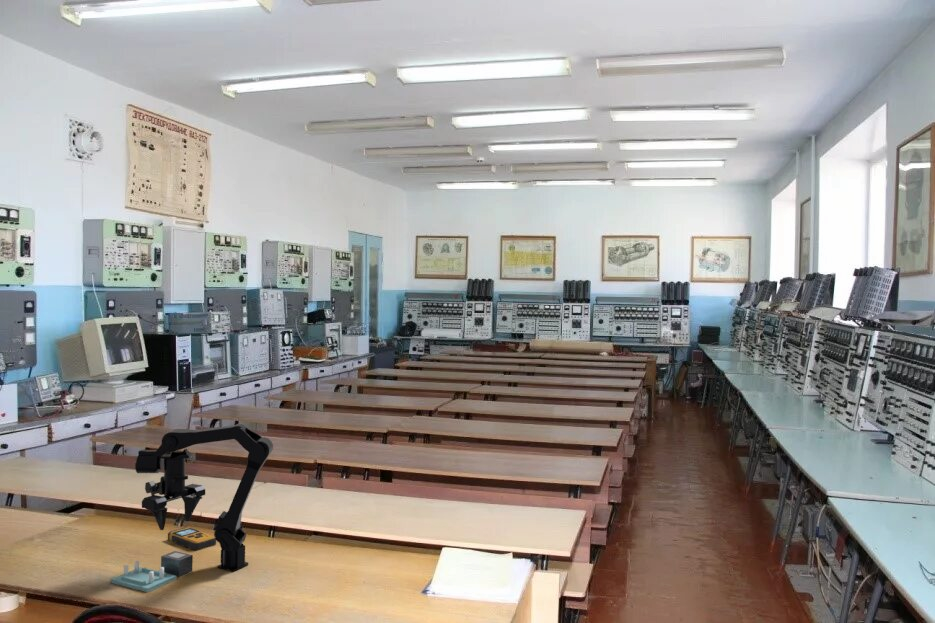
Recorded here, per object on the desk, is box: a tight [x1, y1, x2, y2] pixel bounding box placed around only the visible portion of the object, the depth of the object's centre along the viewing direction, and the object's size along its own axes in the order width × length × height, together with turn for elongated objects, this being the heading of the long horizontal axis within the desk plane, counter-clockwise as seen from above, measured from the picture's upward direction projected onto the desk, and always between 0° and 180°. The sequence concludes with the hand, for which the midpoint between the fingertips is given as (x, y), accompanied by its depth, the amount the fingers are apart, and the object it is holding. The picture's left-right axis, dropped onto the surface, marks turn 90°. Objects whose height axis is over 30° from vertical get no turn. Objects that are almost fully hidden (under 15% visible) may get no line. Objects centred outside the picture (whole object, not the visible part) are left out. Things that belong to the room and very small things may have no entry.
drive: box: [160, 550, 194, 578], centre depth 210 cm, size 7×5×5 cm
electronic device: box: [167, 526, 217, 551], centre depth 236 cm, size 8×16×3 cm, turn 54°
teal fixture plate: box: [110, 560, 177, 593], centre depth 203 cm, size 14×10×4 cm
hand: (174, 525), depth 214 cm, fingers open, 9 cm apart
